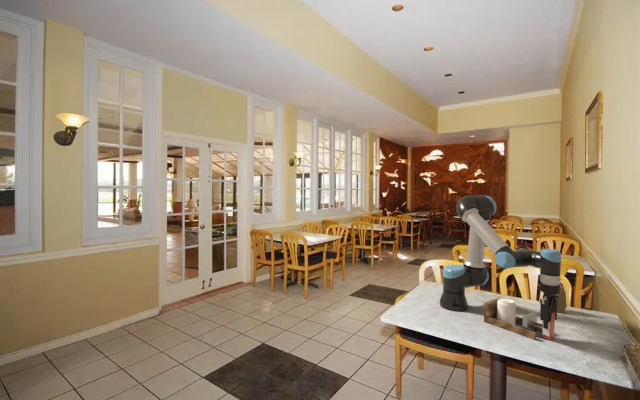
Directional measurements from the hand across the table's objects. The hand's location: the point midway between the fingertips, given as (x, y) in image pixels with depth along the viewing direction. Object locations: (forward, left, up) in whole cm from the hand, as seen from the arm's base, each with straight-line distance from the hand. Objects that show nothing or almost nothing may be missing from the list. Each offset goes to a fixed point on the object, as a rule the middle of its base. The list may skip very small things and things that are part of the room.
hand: (548, 333), depth 146 cm
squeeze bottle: (-12, +42, -2) cm, 44 cm away
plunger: (-4, 0, -2) cm, 4 cm away
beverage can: (-19, 0, -2) cm, 19 cm away
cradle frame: (-14, 0, -2) cm, 15 cm away
